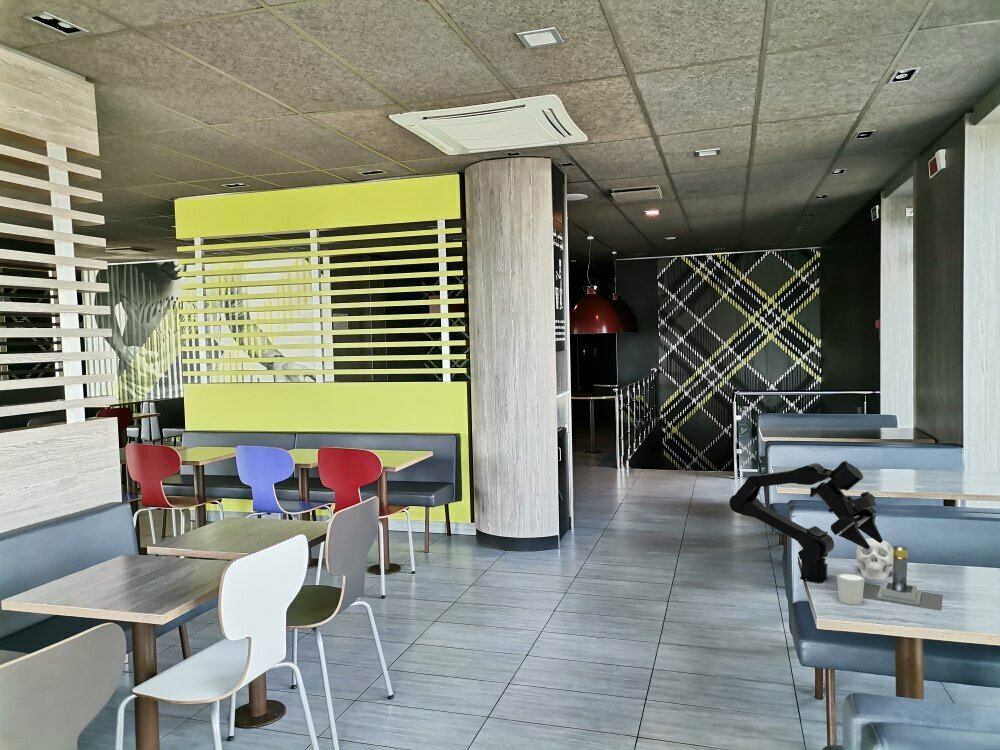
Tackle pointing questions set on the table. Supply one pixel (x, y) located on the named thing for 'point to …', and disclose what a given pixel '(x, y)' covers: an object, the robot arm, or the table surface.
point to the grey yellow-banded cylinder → (899, 568)
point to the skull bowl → (875, 559)
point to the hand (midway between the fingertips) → (875, 545)
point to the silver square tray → (899, 594)
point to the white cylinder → (850, 588)
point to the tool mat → (926, 602)
